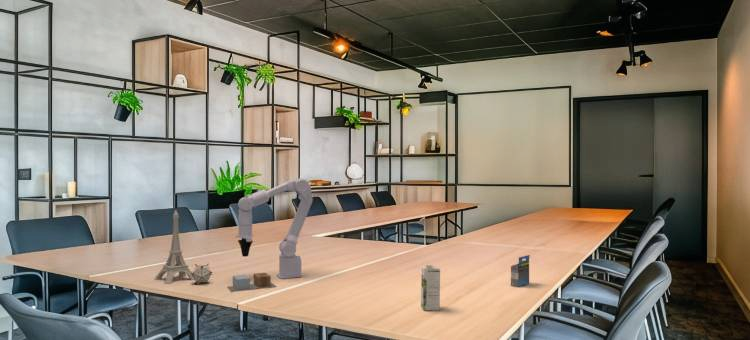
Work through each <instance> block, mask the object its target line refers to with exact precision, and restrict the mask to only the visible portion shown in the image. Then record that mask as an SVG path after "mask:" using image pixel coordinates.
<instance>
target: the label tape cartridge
mask: <svg viewBox="0 0 750 340" xmlns="http://www.w3.org/2000/svg"><path fill="white" fill-rule="evenodd" d="M529 284H530V254H527V255H524V256H519V257H518V263H515V264H513V265H511V266H510V287H514V288H520V287H523V286H527V285H529Z"/></svg>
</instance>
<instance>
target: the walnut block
mask: <svg viewBox="0 0 750 340" xmlns="http://www.w3.org/2000/svg"><path fill="white" fill-rule="evenodd" d="M271 277H272V276H271V275H269V274H268V272H257V273H253V284H255V285H256V286H257V287H267V286H271V283H272V282H271V281H272V279H271Z"/></svg>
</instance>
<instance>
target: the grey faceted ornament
mask: <svg viewBox="0 0 750 340" xmlns="http://www.w3.org/2000/svg"><path fill="white" fill-rule="evenodd" d="M194 265H195V268H194V270H193V271H192V273H191V274H193V275H191V276H193V277H194V279H195V280H194V281H195V283H194V285H197V283H198V284H199V283H207V285H208V284H209V280H210V277H211V276H212V275H213V271H211V270H210V268H209V263H207V264H204V265H203V264H202V265H197V264H196V263H195V264H194Z"/></svg>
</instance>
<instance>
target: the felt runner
mask: <svg viewBox="0 0 750 340" xmlns="http://www.w3.org/2000/svg"><path fill="white" fill-rule="evenodd" d="M226 287H227V289H228V290H229V292H240V291H251V290H261V289H268V288H270V289H271V288H277V286H276V285H275V284H274V283H273V282H271V286H267V287H257V286H256V285H255V284H254V283H250V288H248V289H239V290H237V289H236V288H235V287H234V286H233V285H231V286H230V285H229V286H226Z"/></svg>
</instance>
